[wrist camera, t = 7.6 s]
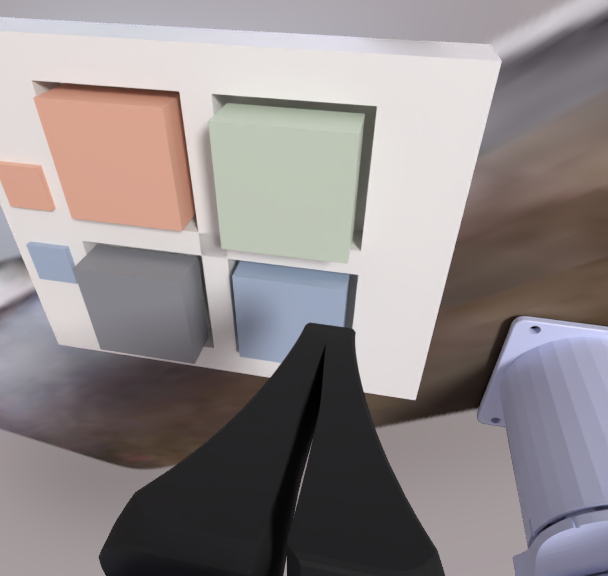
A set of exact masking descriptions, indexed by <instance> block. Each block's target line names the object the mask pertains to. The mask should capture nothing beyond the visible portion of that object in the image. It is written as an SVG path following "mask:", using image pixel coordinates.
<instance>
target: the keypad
mask: <svg viewBox="0 0 608 576" xmlns="http://www.w3.org/2000/svg"><path fill="white" fill-rule="evenodd" d="M501 62H502V61H501V59H500V58H499V56H498V55H497V53H496V52H495V50H494V49H493V47H492V46H491V45H490V44H472V43H455V42H437V41H419V40H400V39H382V38H365V37H347V36H329V35H311V34H292V33H275V32H258V31H240V30H239V31H238V30H222V29H204V28H185V27H168V26H151V25H132V24H131V25H130V24H115V23H114V24H113V23H97V22H78V21H61V20H43V19H25V18H7V17H0V205H1V207H2V210H3V212H4V214H5V216H6V219H7V222H8V224H9V226H10V229H11V231H12V234H13V236H14V238H15V241H16V243H17V246H18V248H19V250H20V253H21V255H22V258H23V260H24V262H25V265H26V267H27V270H28V272H29V274H30V277H31V279H32V282H33V284H34V286H35V289H36V291H37V294H38V296H39V298H40V301H41V303H42V306H43V308H44V310H45V313H46V315H47V318H48V320H49V322H50V325H51V327H52V330H53V332H54V334H55V337H56V339H57V342H58V344H59V345H65V346H71V347H78V348H84V349H90V350H97V351H103V352H110V353H116V354H122V355H129V356H135V357H142V358H148V359H155V360H161V361H167V362H174V363H180V364H187V365H193V366H199V367H206V368H212V369H219V370H225V371H231V372H238V373H244V374H251V375H257V376H263V377H271V376H272V375H273V374H274V372H275V371H276V370H277V368H278V367H279V366H280V364H281V363H278V362H271V361H265V360H258V359H252V358H245V357H240V355H239V344H238V333H237V322H236V312H235V301H234V290H233V279H232V276H233V274H234V272H235V270H236V268H237V266H238V264H239V262H240V260H242V261H250V262H258V263H266V264H274V265H282V266H290V267H298V268H307V269H315V270H323V271H331V272H339V273H347V274H350V284H349V294H348V304H347V314H346V325H345V327H346V328H352V329H353V330H354V331H355V332H356V334H355V348H356V357H357V364H358V369H359V374H360V379H361V383H362V387H363V391H364V392H366V393H372V394H379V395H385V396H392V397H398V398H404V399H411V400H416V396H417V392H418V389H419V385H420V381H421V377H422V373H423V369H424V365H425V361H426V357H427V353H428V349H429V345H430V341H431V337H432V333H433V329H434V326H435V322H436V318H437V314H438V310H439V306H440V302H441V298H442V294H443V290H444V286H445V282H446V278H447V274H448V270H449V267H450V263H451V259H452V255H453V251H454V247H455V243H456V239H457V235H458V231H459V227H460V223H461V219H462V215H463V211H464V208H465V204H466V200H467V196H468V192H469V188H470V184H471V180H472V176H473V172H474V168H475V164H476V160H477V156H478V152H479V148H480V145H481V141H482V137H483V133H484V129H485V125H486V121H487V117H488V113H489V109H490V105H491V101H492V97H493V93H494V89H495V86H496V82H497V78H498V74H499V70H500V66H501ZM64 83H68V84H82V85H95V86H108V87H122V88H135V89H148V90H161V91H175V92H179V93H180V100H181V108H182V115H183V122H184V130H185V137H186V144H187V152H188V159H189V166H190V174H191V181H192V188H193V196H194V203H195V210H196V214H195V215H194V217H193V218H192V219H191V221H190V222H189V223H188V224H187V226H186V227H185V228H184V230H183V231H175V230H167V229H158V228H150V227H141V226H132V225H124V224H115V223H107V222H98V221H90V220H81V219H72V217H71V214H70V211H69V208H68V205H67V202H66V199H65V196H64V193H63V189H62V186H61V183H60V180H59V177H58V174H57V171H56V168H55V164H54V161H53V158H52V155H51V152H50V149H49V146H48V143H47V139H46V136H45V133H44V130H43V127H42V124H41V121H40V118H39V114H38V111H37V108H36V105H35V102H34V99H33V97H35V96H37V95H40V94H42V93H44V92H46V91H49V90H51V89H53V88H55V87H58V86H60V85H62V84H64ZM227 103H232V104H245V105H258V106H271V107H284V108H297V109H310V110H323V111H336V112H348V113H361V114H365V118H364V128H363V139H362V149H361V159H360V170H359V180H358V191H357V201H356V211H355V222H354V232H353V239H352V245H351V250H350V255H349V260H348V264H345V263H336V262H328V261H320V260H311V259H303V258H295V257H287V256H278V255H270V254H262V253H253V252H245V251H237V250H228V249H221V239H220V230H219V220H218V211H217V201H216V191H215V182H214V172H213V163H212V153H211V144H210V134H209V124H208V120H210V119H211V118H212V117H213V116H214V115H215V114H216V113H217V112H218V111H219V110H220V109H221V108H222V107H223V106H224V105H225V104H227ZM96 245H104V246H112V247H120V248H128V249H136V250H144V251H152V252H160V253H169V254H177V255H185V256H193V257H197V258H198V265H199V272H200V279H201V286H202V293H203V300H204V306H205V313H206V320H207V327H208V334H209V337H208V339H207V341H206V343H205V345H204V347H203V349H202V351H201V353H200V355H199V357H198V359H197V361H196V363H195V364H191V363H185V362H179V361H172V360H166V359H159V358H153V357H146V356H140V355H134V354H127V353H121V352H114V351H108V350H101V349H100V346H99V343H98V340H97V337H96V334H95V332H94V329H93V326H92V323H91V320H90V317H89V314H88V311H87V308H86V305H85V302H84V300H83V297H82V294H81V291H80V288H79V285H78V282H77V279H76V276H75V273H74V271H73V268H74V267H75V266H76V265H77V264H78V263H79V262H80V261H81V260H82V259H83V258H84V257H85V256H86V255H87V254H88V253H89V252H90V251H91V250H92V249H93V248H94V247H95V246H96Z"/></svg>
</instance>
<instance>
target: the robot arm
mask: <svg viewBox="0 0 608 576" xmlns="http://www.w3.org/2000/svg"><path fill="white" fill-rule="evenodd" d="M533 326H538V327H537V328H535V329H531V327H533ZM355 334H356V332H355V331H354V330H353V329H352V328H346V327H339V326H332V325H325V324H317V323H310V322H309V323H308V324H306V325H305V327H304V329H303V331H302V333H301V334H300V336H299V338H298V340H297V341H296V343H295V344H294V346H293V347H292V349H291V350H290V352H289V353H288V355H287V356H286V358H285V359H284V360H283V362H282V363H281V364H280V366H279V367H278V368H277V370H276V371H275V372H274V374H273V375H272V376H271V377H270V379H269V380H268V381H267V382H266V383H265V384H264V386H263V387H262V388H261V389H260V390H259V391H258V393H257V394H256V395H255V396H254V397H253V398H252V399H251V400H250V401H249V403H248V404H247V405H246V406H245V407H244V408H243V409H242V410H241V411H240V412H239V413H238V414H237V415H236V416H235V417H234V418H233V419H232V420H231V421H230V422H228V423H227V424H226V425H225V426H224V427H223V428H222V429H221V430H220V431H218V432H217V433H216V434H215V435H214V436H213V437H212V438H210V439H209V440H208V441H207V442H206V443H204V444H203V445H202V446H201V447H199V448H198V449H197V450H195V451H194V452H193V453H192V454H190V455H189V456H188V457H186V458H185V459H184V460H182V461H181V462H180V463H178V464H177V465H176V466H174V467H173V468H171V469H170V470H169V471H167V472H166V473H164V474H163V475H161V476H159V477H158V478H156V479H155V480H153V481H152V482H150V483H149V484H147V485H146V486H144V487H143V488H141V489H140V490H138V491H137V492H135V494H134V495H133V496H132V498H131V499H130V501H129V502H128V503H127V505H126V506H125V508H124V510H123V511H122V513H121V514H120V516H119V517H118V519H117V520H116V522H115V524H114V526H113V528H112V530H111V532H110V534H109V536H108V538H107V540H106V542H105V544H104V546H103V548H102V550H101V552H100V555H99V560H100V564H101V567H102V569H103V571H104V573H105V575H106V576H283V573H284V568H285V562H286V557H287V576H445V574H444V570H443V567H442V564H441V560H440V557H439V554H438V551H437V549H436V547H435V546H434V545H433V543H432V541H431V539H430V538H429V536H428V535H427V533H426V531H425V530H424V528H423V527H422V525H421V523H420V522H419V520H418V518H417V516H416V514H415V513H414V511H413V509H412V507H411V505H410V504H409V502H408V500H407V498H406V497H405V494H404V492H403V491H402V488H401V486H400V484H399V482H398V480H397V478H396V476H395V474H394V472H393V470H392V469H391V466H390V464H389V462H388V460H387V457H386V455H385V452H384V450H383V448H382V445H381V443H380V440H379V438H378V435H377V433H376V430H375V427H374V424H373V421H372V418H371V415H370V412H369V409H368V406H367V402H366V399H365V395H364V391H363V387H362V383H361V379H360V374H359V369H358V364H357V357H356V348H355ZM477 419H478V421H479V422H481V423H483V424H488V425H495V426H501V427H506V431H507V436H508V442H509V447H510V453H511V458H512V464H513V469H514V475H515V480H516V486H517V491H518V496H519V502H520V507H521V513H522V518H523V523H524V529H525V535H526V540H527V546H528V550H526V551H525V552H523V553H521V554H518V555H515V556H514V557H513V562H514V569H515V575H516V576H608V327H606V326H598V325H590V324H583V323H575V322H567V321H559V320H551V319H544V318H536V317H528V316H521V317H517V318H516V319H514V320H513V322H512V324H511V327H510V329H509V332H508V334H507V337H506V339H505V342H504V345H503V347H502V350H501V352H500V355H499V357H498V360H497V363H496V365H495V368H494V370H493V373H492V376H491V378H490V381H489V383H488V386H487V388H486V391H485V394H484V396H483V399H482V401H481V404H480V406H479V409H478V412H477ZM314 432H315V433H314ZM313 436H314V437H313ZM312 439H313V441H312ZM311 443H312V446H311ZM310 446H311V450H310ZM309 450H310V455H309V459H308V463H307V468H306V471H305V475H304V479H303V483H302V487H301V492H300V495H299V499H298V504H297V507H296V502H297V496H298V491H299V487H300V483H301V479H302V475H303V471H304V468H305V464H306V460H307V457H308V454H309ZM295 507H296V511H295ZM294 513H295V515H294Z"/></svg>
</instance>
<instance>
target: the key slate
mask: <svg viewBox="0 0 608 576" xmlns="http://www.w3.org/2000/svg"><path fill="white" fill-rule="evenodd" d="M232 279H233V290H234V301H235V312H236V322H237V333H238V344H239V355H240V357H245V358H252V359H258V360H265V361H271V362H278V363H282V362H283V360H284V359H285V358H286V356H287V355H288V353H289V352H290V350H291V349H292V347H293V346H294V344H295V343H296V341H297V340H298V338H299V336H300V334H301V333H302V331H303V329H304V327H305V325H306V324H308V323H309V322H310V323H317V324H325V325H332V326H339V327H345V325H346V314H347V304H348V294H349V284H350V274H347V273H339V272H331V271H323V270H315V269H307V268H298V267H290V266H282V265H274V264H266V263H258V262H250V261H242V260H240V262H239V264H238V266H237V268H236V270H235V272H234V274H233V276H232Z"/></svg>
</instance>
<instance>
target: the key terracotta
mask: <svg viewBox="0 0 608 576" xmlns="http://www.w3.org/2000/svg"><path fill="white" fill-rule="evenodd" d="M33 99H34V102H35V105H36V108H37V111H38V114H39V118H40V121H41V124H42V127H43V130H44V133H45V136H46V139H47V143H48V146H49V149H50V152H51V155H52V158H53V161H54V164H55V168H56V171H57V174H58V177H59V180H60V183H61V186H62V189H63V193H64V196H65V199H66V202H67V205H68V208H69V211H70V214H71V217H72V219H81V220H90V221H98V222H107V223H115V224H124V225H132V226H141V227H150V228H158V229H167V230H175V231H183V230H184V228H185V227H186V226H187V224H188V223H189V222H190V221H191V219H192V218H193V217H194V215H195V214H196V210H195V203H194V196H193V188H192V181H191V174H190V166H189V159H188V152H187V144H186V137H185V130H184V122H183V115H182V108H181V100H180V93H179V92H175V91H161V90H148V89H135V88H122V87H108V86H95V85H82V84H68V83H64V84H62V85H60V86H58V87H55V88H53V89H51V90H49V91H46V92H44V93H42V94H40V95H37V96H35V97H33Z"/></svg>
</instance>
